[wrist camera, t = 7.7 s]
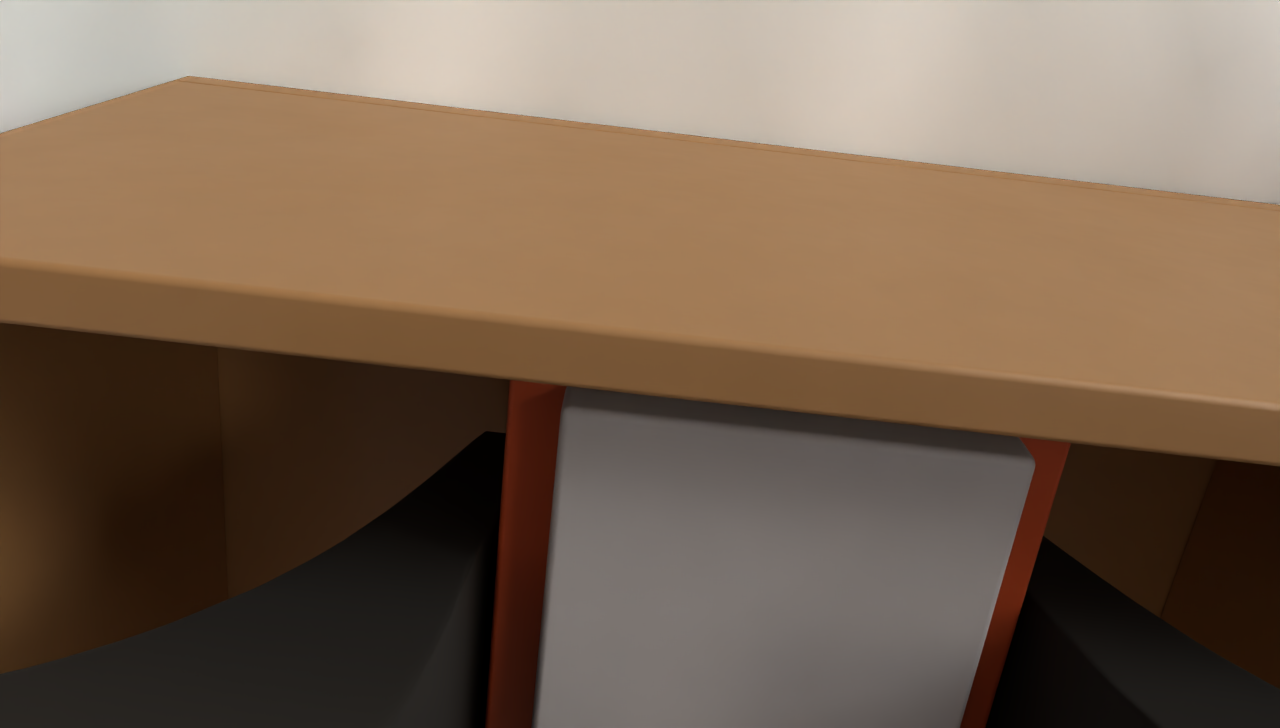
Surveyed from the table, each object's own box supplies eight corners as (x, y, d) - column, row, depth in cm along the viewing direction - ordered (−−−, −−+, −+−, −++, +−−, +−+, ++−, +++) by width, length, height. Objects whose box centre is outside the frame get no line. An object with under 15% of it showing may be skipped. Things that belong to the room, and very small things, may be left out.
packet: (927, 255, 12) (1099, 467, 7) (828, 691, 14) (910, 1067, 9) (564, 213, 11) (501, 400, 7) (525, 660, 14) (457, 1024, 9)
